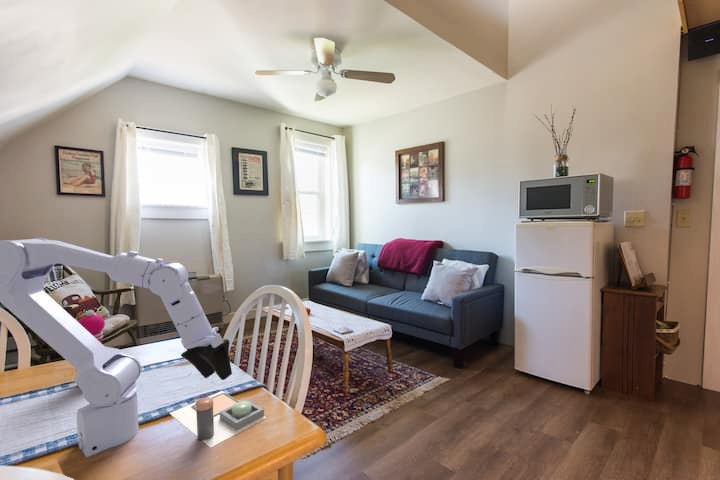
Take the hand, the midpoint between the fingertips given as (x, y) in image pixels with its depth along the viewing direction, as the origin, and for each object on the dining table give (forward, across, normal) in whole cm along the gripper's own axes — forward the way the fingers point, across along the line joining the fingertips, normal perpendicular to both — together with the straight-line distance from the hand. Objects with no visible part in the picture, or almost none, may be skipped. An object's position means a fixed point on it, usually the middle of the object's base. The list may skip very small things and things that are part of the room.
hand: (218, 376), depth 71 cm
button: (+10, +1, -1) cm, 10 cm away
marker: (+9, +1, +7) cm, 11 cm away
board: (+10, +6, +2) cm, 12 cm away
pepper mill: (-4, +47, +12) cm, 49 cm away
